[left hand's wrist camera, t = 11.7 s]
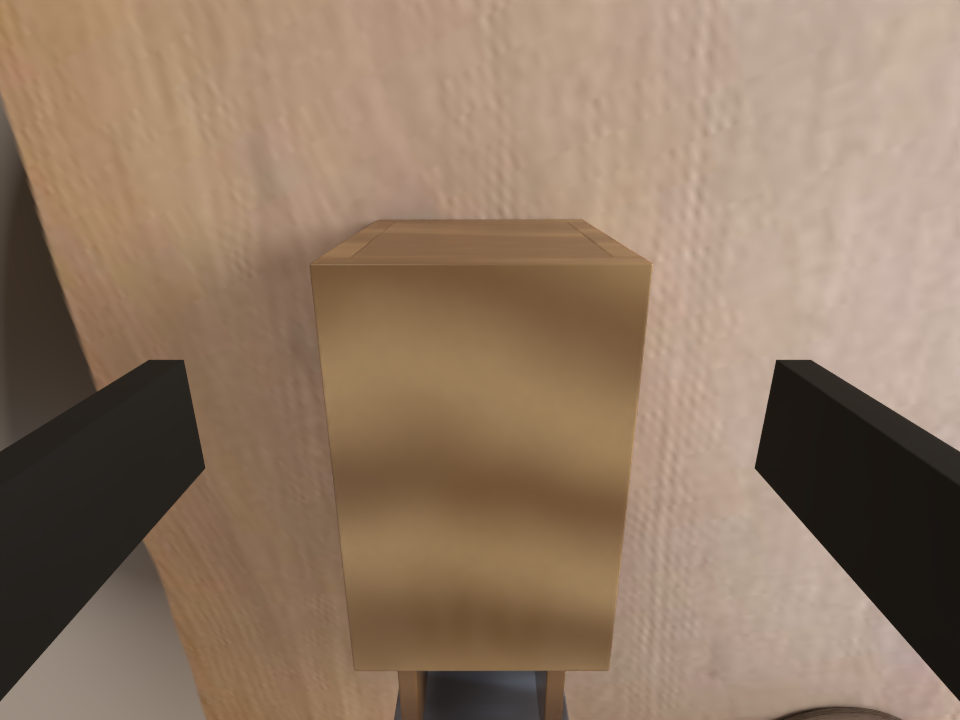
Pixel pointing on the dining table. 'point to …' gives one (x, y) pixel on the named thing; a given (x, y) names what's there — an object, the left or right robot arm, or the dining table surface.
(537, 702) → the drawer
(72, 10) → the dining table surface
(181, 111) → the dining table surface
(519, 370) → the cabinet
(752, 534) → the dining table surface
